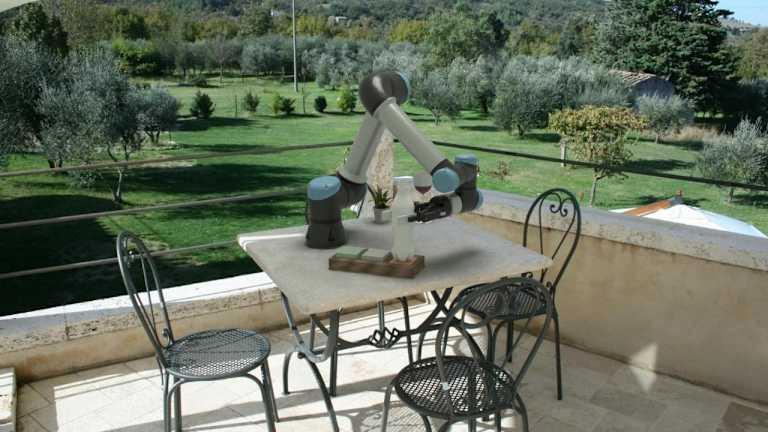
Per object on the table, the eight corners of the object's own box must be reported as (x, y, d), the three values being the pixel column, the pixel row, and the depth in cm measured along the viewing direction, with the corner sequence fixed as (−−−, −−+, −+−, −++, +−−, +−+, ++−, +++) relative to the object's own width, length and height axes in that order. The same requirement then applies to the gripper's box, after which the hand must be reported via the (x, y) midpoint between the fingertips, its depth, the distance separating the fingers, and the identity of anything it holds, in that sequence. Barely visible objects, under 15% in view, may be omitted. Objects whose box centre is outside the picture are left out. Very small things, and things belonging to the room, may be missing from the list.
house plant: (354, 222, 248) (352, 183, 244) (376, 215, 258) (375, 177, 254) (381, 228, 239) (380, 187, 235) (403, 220, 250) (402, 181, 245)
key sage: (336, 260, 197) (335, 252, 196) (345, 253, 203) (344, 245, 203) (356, 263, 194) (356, 254, 194) (365, 256, 201) (365, 247, 200)
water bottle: (415, 255, 195) (415, 178, 189) (414, 262, 189) (413, 183, 182) (392, 254, 196) (391, 178, 190) (390, 262, 189) (389, 183, 183)
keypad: (328, 269, 196) (328, 258, 195) (344, 257, 207) (343, 247, 206) (412, 279, 186) (412, 268, 185) (424, 266, 197) (424, 255, 196)
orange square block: (388, 271, 191) (388, 262, 190) (396, 263, 198) (396, 255, 197) (410, 273, 189) (410, 265, 188) (417, 266, 195) (417, 257, 194)
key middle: (361, 263, 194) (361, 255, 193) (370, 256, 200) (370, 248, 200) (383, 265, 191) (383, 257, 191) (391, 258, 198) (391, 250, 197)
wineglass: (435, 218, 251) (435, 170, 246) (429, 224, 243) (430, 175, 238) (416, 217, 254) (416, 169, 248) (410, 223, 246) (410, 174, 241)
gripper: (466, 223, 193) (412, 237, 179) (423, 211, 208) (370, 223, 194) (467, 200, 191) (412, 213, 177) (423, 189, 206) (369, 200, 192)
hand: (390, 218), depth 186 cm, fingers closed on water bottle, 7 cm apart
